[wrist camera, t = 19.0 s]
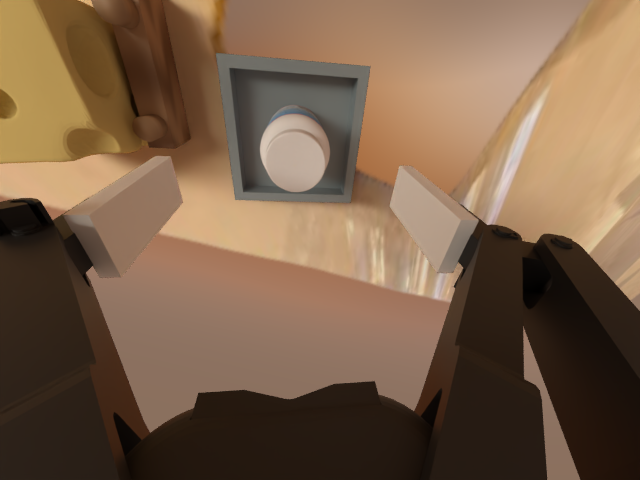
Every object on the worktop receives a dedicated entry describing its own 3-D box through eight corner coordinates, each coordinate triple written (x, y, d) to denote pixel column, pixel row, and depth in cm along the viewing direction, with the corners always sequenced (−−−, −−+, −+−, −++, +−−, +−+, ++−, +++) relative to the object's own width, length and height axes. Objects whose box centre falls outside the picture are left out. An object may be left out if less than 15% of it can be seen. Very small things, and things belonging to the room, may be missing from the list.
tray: (224, 55, 24) (215, 52, 22) (363, 67, 26) (370, 66, 23) (239, 190, 32) (235, 199, 29) (346, 193, 33) (350, 202, 31)
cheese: (169, 139, 28) (116, 166, 20) (68, 141, 27) (-32, 169, 19) (130, 17, 22) (32, -18, 14) (0, 15, 21) (-187, -24, 13)
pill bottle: (256, 127, 27) (236, 154, 18) (301, 91, 26) (304, 100, 16) (290, 171, 30) (287, 214, 21) (331, 142, 29) (349, 173, 19)
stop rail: (130, -11, 21) (75, -39, 16) (160, -7, 21) (115, -35, 16) (168, 137, 28) (138, 152, 22) (190, 139, 28) (166, 153, 23)
